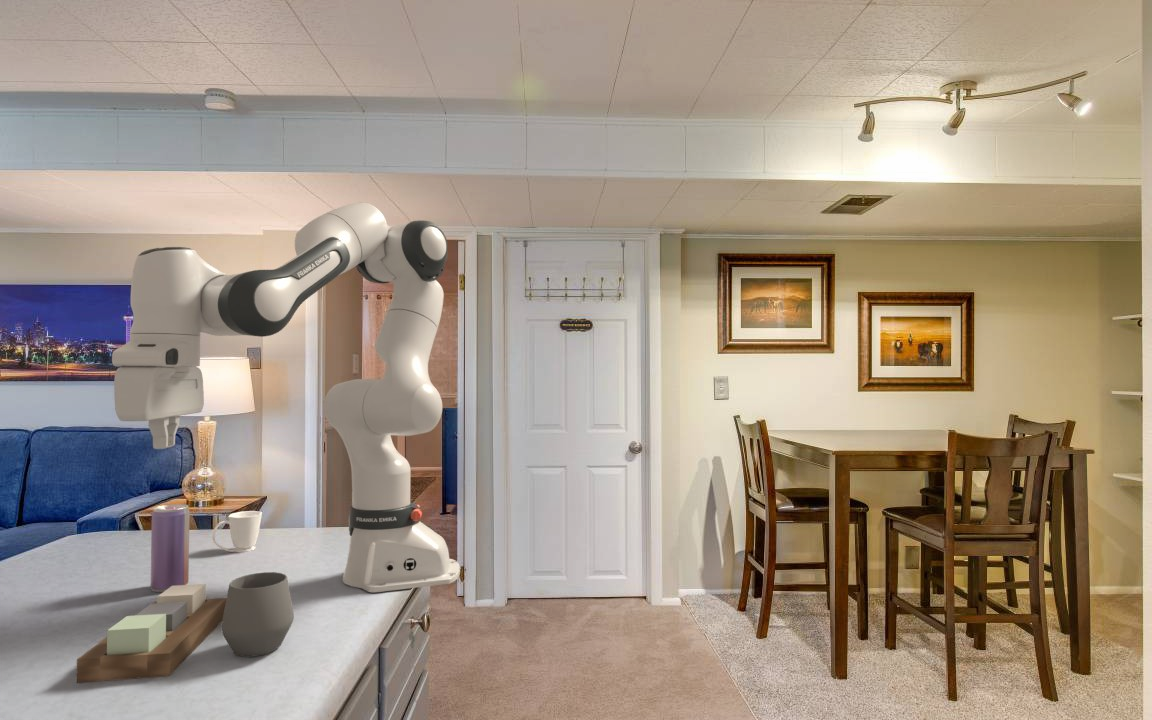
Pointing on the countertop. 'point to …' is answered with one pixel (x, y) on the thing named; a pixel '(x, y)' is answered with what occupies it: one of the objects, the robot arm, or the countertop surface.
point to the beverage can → (169, 546)
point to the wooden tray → (161, 657)
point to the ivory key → (184, 596)
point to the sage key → (136, 634)
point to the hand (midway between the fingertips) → (164, 447)
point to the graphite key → (168, 613)
